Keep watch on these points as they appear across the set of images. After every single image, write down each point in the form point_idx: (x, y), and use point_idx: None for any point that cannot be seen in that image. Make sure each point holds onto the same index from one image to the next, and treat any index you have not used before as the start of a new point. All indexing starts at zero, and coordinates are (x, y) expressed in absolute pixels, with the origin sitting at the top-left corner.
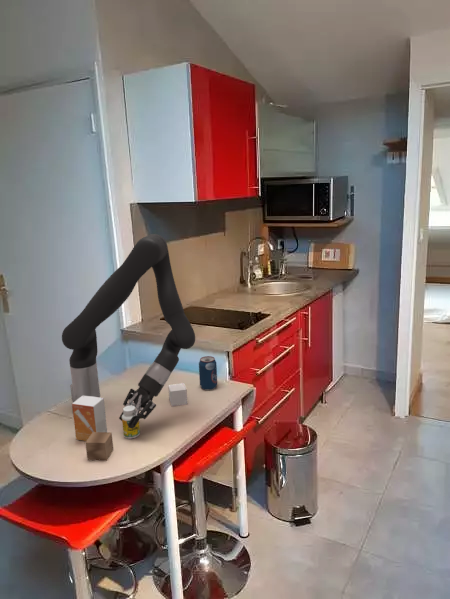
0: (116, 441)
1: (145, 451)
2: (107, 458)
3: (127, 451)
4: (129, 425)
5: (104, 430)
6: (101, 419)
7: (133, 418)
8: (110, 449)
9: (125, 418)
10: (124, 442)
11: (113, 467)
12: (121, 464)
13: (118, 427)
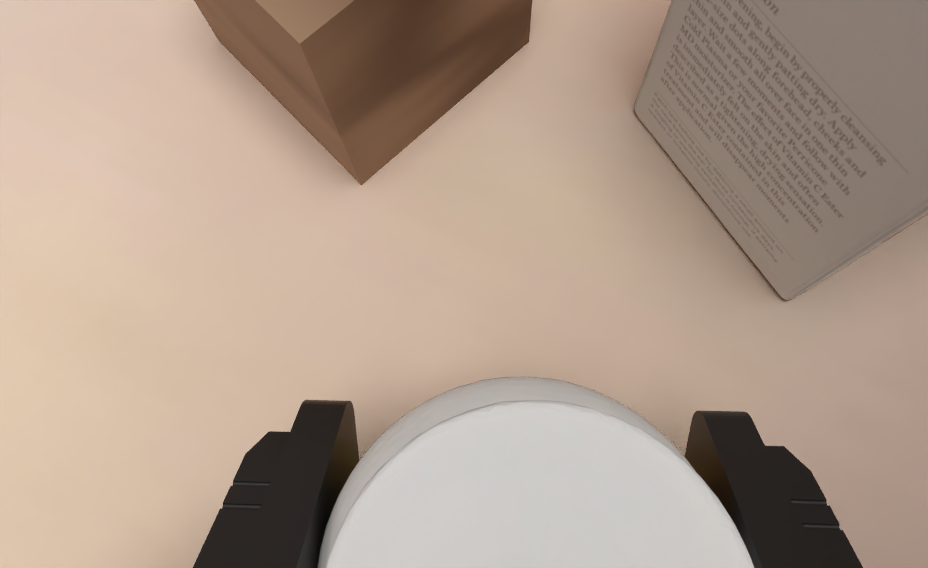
0: (503, 295)
1: (10, 454)
2: (228, 48)
3: (194, 285)
4: (301, 419)
5: (766, 217)
6: (831, 60)
7: (248, 540)
8: (286, 95)
9: (437, 404)
10: (405, 360)
11: (58, 38)
12: (33, 117)
13: (853, 505)
